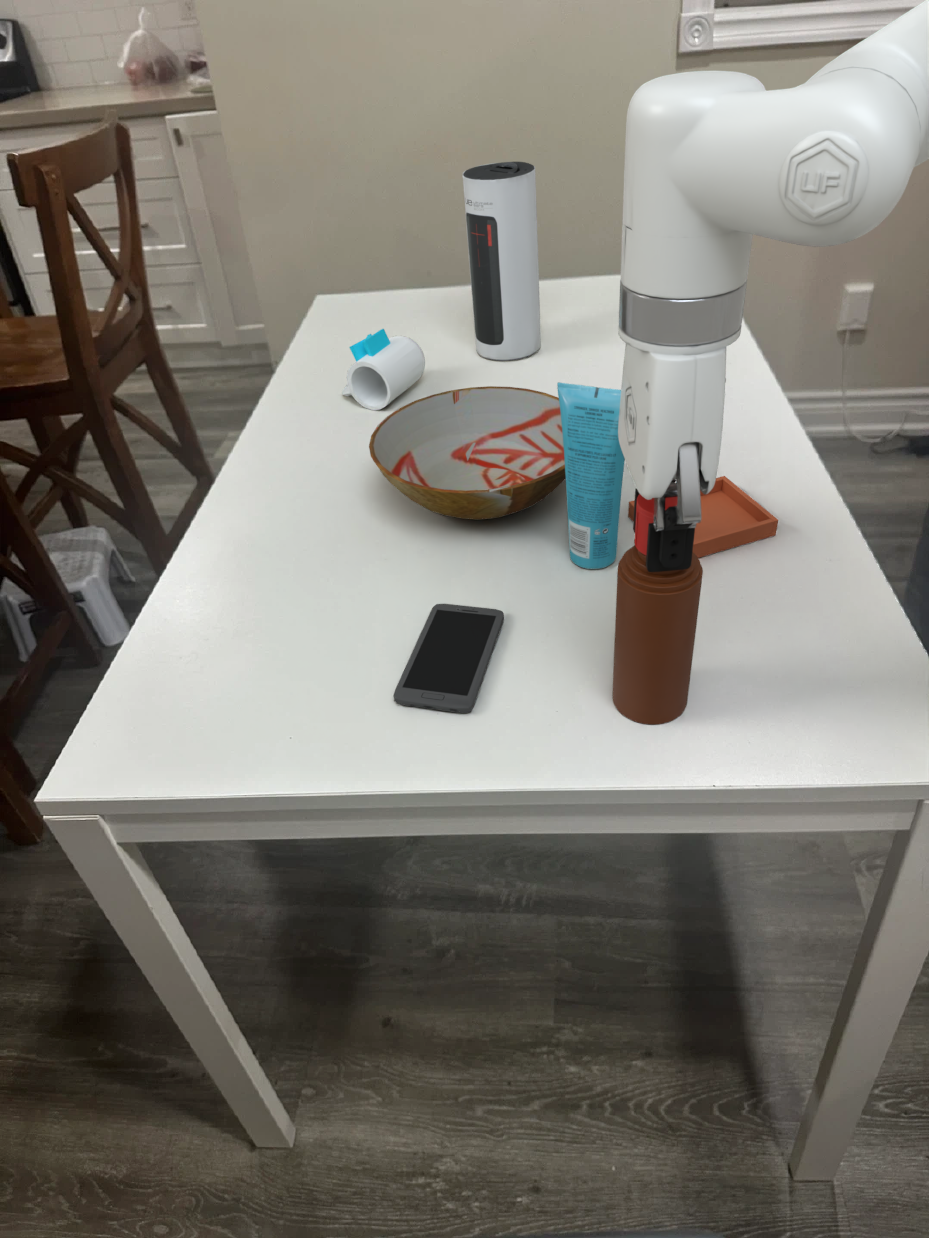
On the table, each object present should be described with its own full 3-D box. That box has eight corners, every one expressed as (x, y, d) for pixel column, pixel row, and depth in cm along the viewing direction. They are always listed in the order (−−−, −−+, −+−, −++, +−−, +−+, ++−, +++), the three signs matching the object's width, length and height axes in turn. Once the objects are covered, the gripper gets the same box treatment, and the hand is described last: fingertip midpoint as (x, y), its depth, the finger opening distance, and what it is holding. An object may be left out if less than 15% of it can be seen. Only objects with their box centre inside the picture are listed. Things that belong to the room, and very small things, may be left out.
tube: (631, 548, 92) (640, 379, 80) (622, 575, 89) (630, 402, 77) (563, 540, 95) (562, 373, 82) (552, 565, 91) (549, 396, 79)
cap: (644, 563, 63) (647, 520, 61) (626, 533, 66) (628, 490, 64) (698, 553, 63) (703, 509, 61) (677, 524, 67) (681, 481, 64)
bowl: (403, 576, 92) (393, 512, 87) (361, 466, 111) (351, 408, 106) (623, 526, 96) (627, 463, 91) (547, 428, 115) (546, 371, 110)
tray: (722, 490, 100) (724, 475, 98) (776, 535, 92) (778, 519, 91) (627, 516, 97) (628, 501, 96) (674, 565, 90) (676, 549, 88)
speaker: (462, 347, 138) (447, 167, 121) (515, 330, 142) (508, 153, 125) (500, 367, 131) (489, 179, 114) (555, 348, 134) (552, 164, 118)
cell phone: (391, 704, 77) (390, 698, 76) (435, 607, 87) (434, 601, 86) (471, 715, 75) (470, 709, 75) (506, 614, 85) (505, 609, 85)
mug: (413, 310, 124) (367, 342, 116) (440, 368, 128) (398, 403, 120) (356, 333, 131) (309, 365, 124) (383, 388, 135) (340, 422, 127)
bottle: (663, 664, 78) (680, 477, 66) (701, 711, 74) (728, 518, 61) (599, 685, 77) (604, 497, 64) (634, 733, 72) (647, 541, 60)
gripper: (597, 270, 60) (593, 496, 72) (648, 369, 47) (632, 625, 59) (705, 260, 60) (683, 488, 72) (786, 357, 47) (743, 615, 59)
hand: (660, 548), depth 65 cm, fingers closed on cap, 4 cm apart
